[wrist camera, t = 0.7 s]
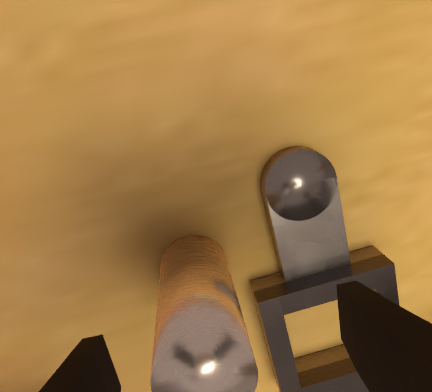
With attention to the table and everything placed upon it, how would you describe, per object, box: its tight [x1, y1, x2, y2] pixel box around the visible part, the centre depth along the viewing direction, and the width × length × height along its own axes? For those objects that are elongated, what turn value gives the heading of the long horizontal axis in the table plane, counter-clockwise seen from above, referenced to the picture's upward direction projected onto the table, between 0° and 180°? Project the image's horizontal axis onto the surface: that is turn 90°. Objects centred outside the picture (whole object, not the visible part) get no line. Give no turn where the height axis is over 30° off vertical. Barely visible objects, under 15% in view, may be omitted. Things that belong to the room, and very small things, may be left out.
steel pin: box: [151, 236, 258, 392], centre depth 18 cm, size 4×4×9 cm
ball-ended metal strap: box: [250, 146, 399, 392], centre depth 23 cm, size 23×8×2 cm, turn 15°
